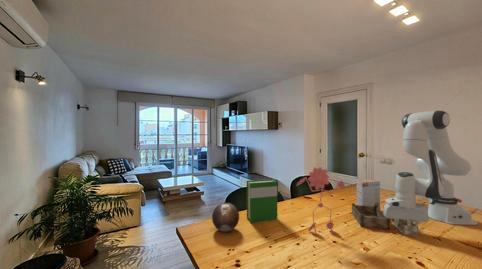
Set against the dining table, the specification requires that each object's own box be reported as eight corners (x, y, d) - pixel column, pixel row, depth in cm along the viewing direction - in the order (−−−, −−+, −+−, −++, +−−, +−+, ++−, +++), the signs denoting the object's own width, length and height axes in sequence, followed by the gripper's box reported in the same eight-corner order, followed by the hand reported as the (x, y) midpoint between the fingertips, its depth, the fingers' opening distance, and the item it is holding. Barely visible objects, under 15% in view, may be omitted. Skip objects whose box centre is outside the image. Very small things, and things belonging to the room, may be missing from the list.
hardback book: (250, 223, 125) (250, 183, 125) (246, 218, 132) (246, 180, 132) (277, 219, 130) (277, 181, 130) (272, 215, 137) (272, 178, 137)
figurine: (349, 234, 110) (347, 168, 111) (302, 237, 107) (301, 169, 108) (333, 223, 125) (332, 164, 126) (291, 225, 123) (290, 165, 123)
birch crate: (406, 226, 120) (406, 217, 120) (418, 236, 108) (418, 226, 108) (393, 225, 122) (393, 216, 121) (403, 234, 110) (403, 225, 110)
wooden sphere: (214, 238, 107) (214, 209, 107) (210, 226, 121) (210, 200, 121) (242, 234, 111) (242, 206, 111) (235, 223, 125) (235, 198, 125)
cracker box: (373, 208, 149) (373, 179, 149) (380, 211, 143) (380, 181, 143) (356, 209, 146) (356, 180, 146) (362, 213, 140) (362, 182, 140)
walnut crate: (376, 215, 136) (376, 205, 135) (390, 229, 116) (390, 217, 116) (351, 213, 139) (351, 203, 139) (360, 226, 120) (360, 214, 119)
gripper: (424, 202, 115) (424, 227, 115) (382, 199, 121) (382, 223, 121) (431, 205, 109) (431, 232, 109) (386, 202, 114) (386, 227, 115)
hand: (405, 227), depth 115 cm, fingers closed on birch crate, 6 cm apart
